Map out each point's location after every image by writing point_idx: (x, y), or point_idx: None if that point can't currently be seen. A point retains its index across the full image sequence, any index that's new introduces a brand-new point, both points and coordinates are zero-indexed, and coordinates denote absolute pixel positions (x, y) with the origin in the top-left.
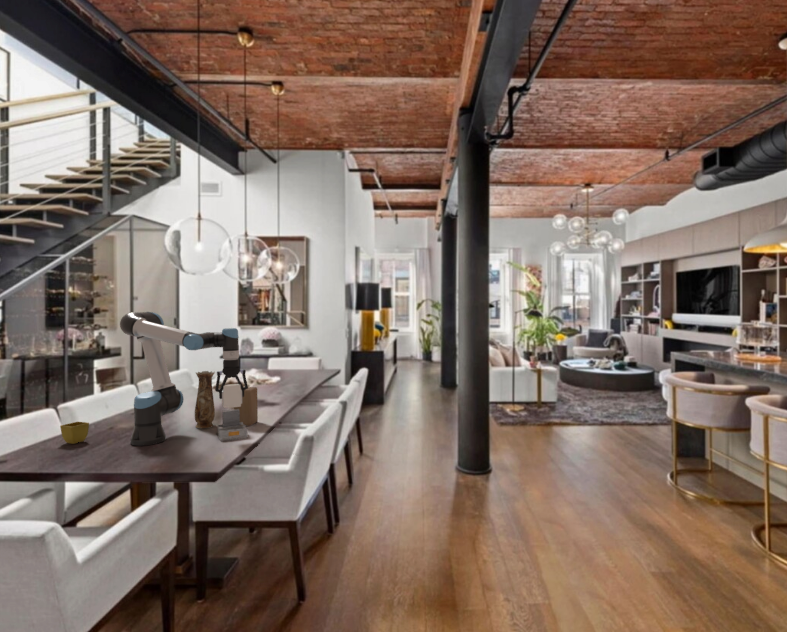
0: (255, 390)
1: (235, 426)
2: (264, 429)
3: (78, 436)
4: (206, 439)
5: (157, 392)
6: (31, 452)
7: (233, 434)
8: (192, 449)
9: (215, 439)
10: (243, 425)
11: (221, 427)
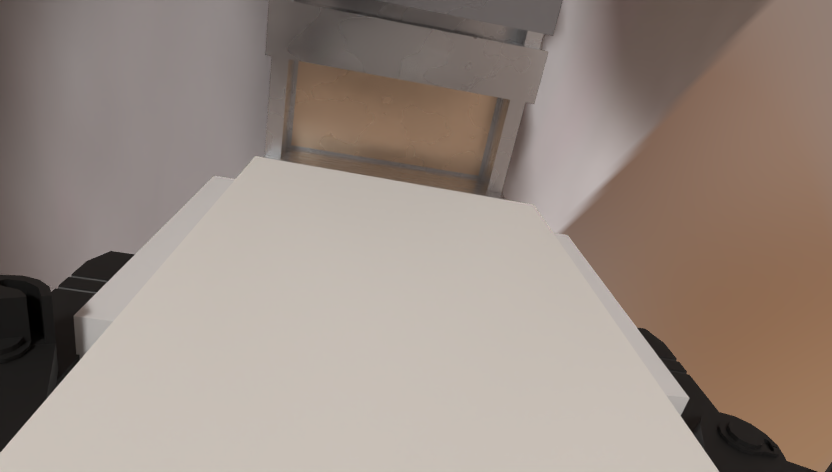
0: None
1: (438, 80)
2: (724, 30)
3: None
4: (164, 37)
5: None
6: None
7: None
8: (47, 262)
9: (241, 91)
10: (520, 91)
11: (297, 21)
